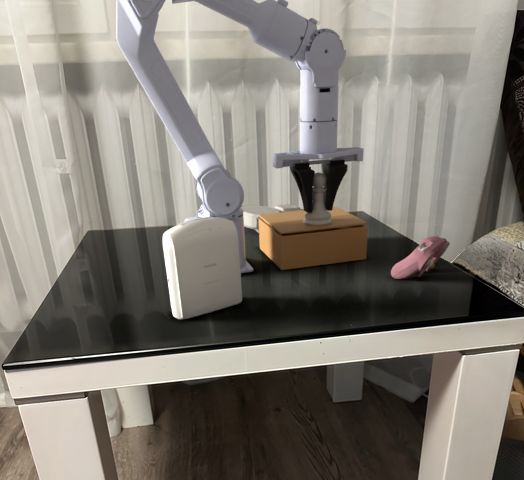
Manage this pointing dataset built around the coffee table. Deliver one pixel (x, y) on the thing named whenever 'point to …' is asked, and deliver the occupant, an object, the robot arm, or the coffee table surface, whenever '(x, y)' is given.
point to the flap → (295, 215)
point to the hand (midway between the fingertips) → (317, 210)
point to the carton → (314, 242)
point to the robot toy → (254, 211)
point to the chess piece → (318, 203)
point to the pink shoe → (421, 258)
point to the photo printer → (202, 266)
